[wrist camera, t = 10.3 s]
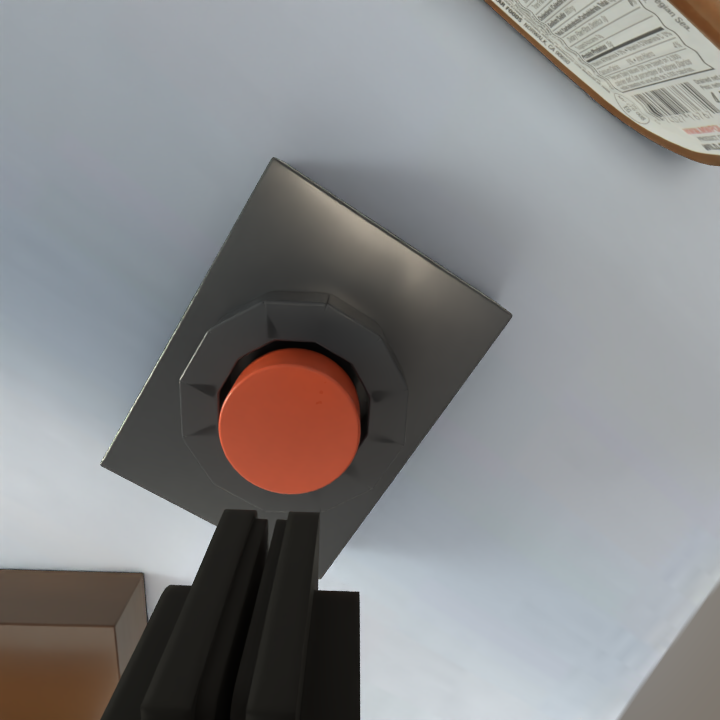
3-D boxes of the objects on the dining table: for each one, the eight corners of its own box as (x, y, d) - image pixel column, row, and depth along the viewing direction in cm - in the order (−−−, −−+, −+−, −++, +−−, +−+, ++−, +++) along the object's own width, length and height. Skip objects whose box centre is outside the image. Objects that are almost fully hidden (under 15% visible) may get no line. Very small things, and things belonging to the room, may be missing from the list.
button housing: (281, 160, 19) (263, 151, 15) (497, 302, 20) (531, 328, 16) (123, 438, 21) (73, 492, 18) (323, 545, 23) (317, 616, 19)
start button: (271, 322, 16) (262, 337, 15) (384, 390, 17) (388, 411, 15) (207, 427, 17) (192, 452, 16) (316, 487, 18) (313, 518, 16)
